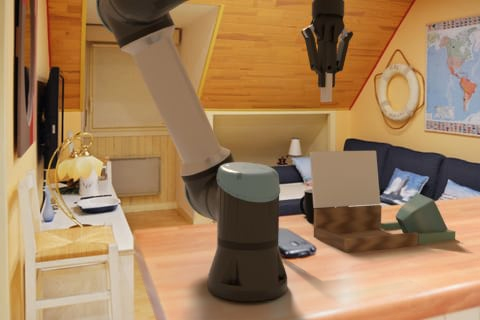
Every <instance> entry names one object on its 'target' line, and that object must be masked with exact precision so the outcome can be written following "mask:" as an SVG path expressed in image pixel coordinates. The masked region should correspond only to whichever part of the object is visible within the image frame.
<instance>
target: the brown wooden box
mask: <svg viewBox="0 0 480 320" xmlns="http://www.w3.org/2000/svg"><path fill="white" fill-rule="evenodd" d="M381 223H382V205H381V204H373V205H356V206H349V207H335V208H320V209H314V223H313V238H315V239H316V240H318V241H320V242H322V243H325V244H326V245H328V246H331V247H332V248H336V249H338V250H339V251H342V252H345V253H347V254H348V253H355V252H357V253H358V252H366V251H377V250H385V249H395V248H405V247H407V248H408V247H415V246H419V245H418V233H416V232H413V233H403V232H402V233H401V232H400V233H392V234H383V235H380V234H379V235H371V236H370V235H369V236H360V237H349V238H348V237H346V236H344V235H350V234H355V233H356V234H357V233H364V232H365V233H366V232H372V231H379V230H382V229H381Z"/></svg>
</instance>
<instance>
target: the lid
mask: <svg viewBox="0 0 480 320" xmlns="http://www.w3.org/2000/svg"><path fill="white" fill-rule="evenodd" d="M377 157H378V156H377V150H342V151H341V150H339V151H338V150H332V151H331V150H329V151H328V150H326V151H322V150H321V151H318V150H317V151H313V150H312V151H309V159H310V160H309V161H310V175H311V189H312V192H313V207H314V208H324V207H335V208H336V207H340V206H349V207H352V206H368V205H381V195H380V193H381V192H380V184H379V171H378V168H379V167H378V158H377Z"/></svg>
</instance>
